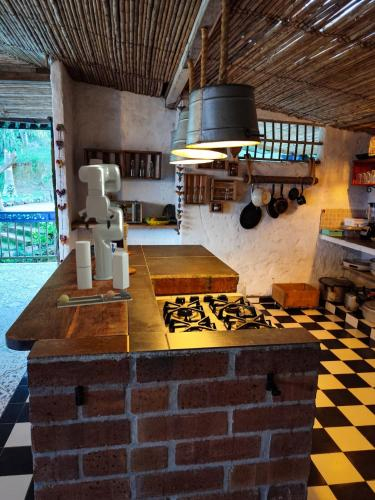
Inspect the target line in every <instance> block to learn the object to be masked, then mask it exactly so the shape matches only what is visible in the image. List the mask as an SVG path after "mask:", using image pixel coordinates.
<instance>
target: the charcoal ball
mask: <svg viewBox="0 0 375 500" xmlns="http://www.w3.org/2000/svg"><path fill="white" fill-rule="evenodd" d="M128 293H129V291H128V290H127V289H126V288H125V289H120V291H119V295H120V297H127V296H128Z"/></svg>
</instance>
